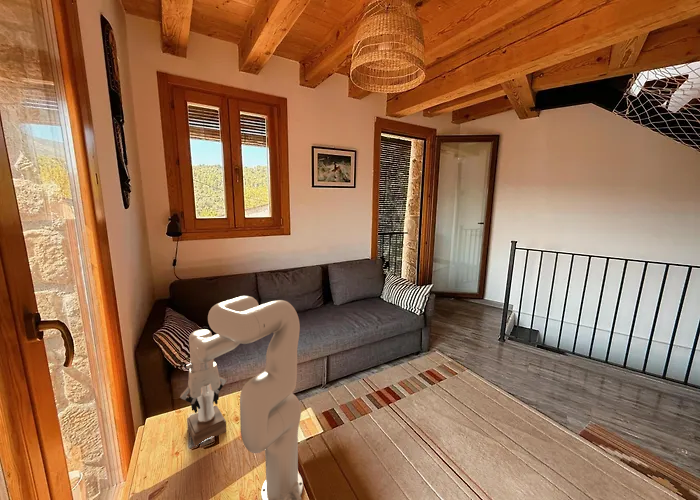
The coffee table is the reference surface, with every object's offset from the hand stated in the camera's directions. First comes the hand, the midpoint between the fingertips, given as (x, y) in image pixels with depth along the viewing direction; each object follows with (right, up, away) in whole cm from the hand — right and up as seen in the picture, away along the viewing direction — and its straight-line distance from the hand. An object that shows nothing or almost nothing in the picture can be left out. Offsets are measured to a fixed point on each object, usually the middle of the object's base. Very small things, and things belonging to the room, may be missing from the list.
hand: (205, 405), depth 108 cm
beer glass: (0, -5, +1) cm, 5 cm away
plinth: (0, -10, +2) cm, 10 cm away
